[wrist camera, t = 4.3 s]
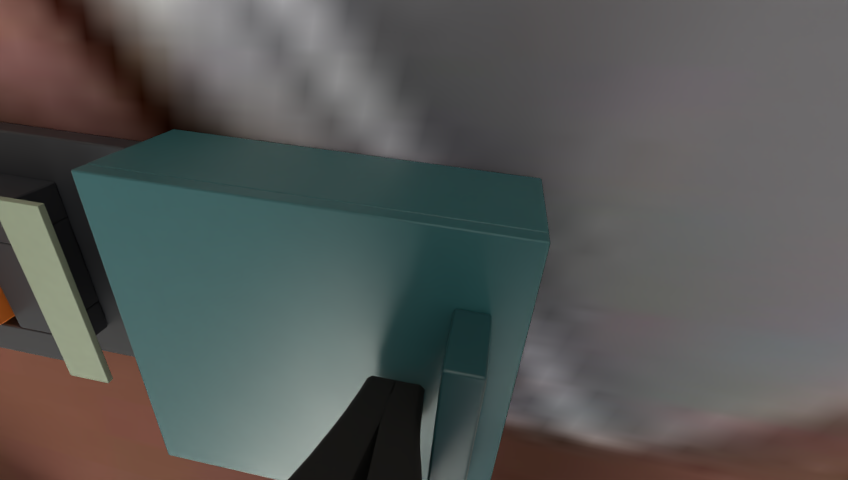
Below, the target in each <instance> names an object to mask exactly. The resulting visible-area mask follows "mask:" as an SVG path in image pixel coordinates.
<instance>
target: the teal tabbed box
mask: <svg viewBox="0 0 848 480" xmlns="http://www.w3.org/2000/svg"><path fill="white" fill-rule="evenodd" d="M71 173H72V176H73V179H74V182H75V185H76V188H77V191H78V193H79V196H80V199H81V202H82V205H83V208H84V211H85V214H86V217H87V219H88V222H89V225H90V228H91V231H92V234H93V237H94V240H95V243H96V245H97V248H98V251H99V254H100V257H101V260H102V263H103V266H104V269H105V271H106V274H107V277H108V280H109V283H110V286H111V289H112V292H113V295H114V298H115V300H116V303H117V306H118V309H119V312H120V315H121V318H122V321H123V324H124V326H125V329H126V332H127V335H128V338H129V341H130V344H131V347H132V350H133V352H134V355H135V358H136V361H137V364H138V367H139V370H140V373H141V376H142V378H143V381H144V384H145V387H146V390H147V393H148V396H149V399H150V402H151V404H152V407H153V410H154V413H155V416H156V419H157V422H158V425H159V428H160V430H161V433H162V436H163V439H164V442H165V445H166V448H167V451H168V454H169V455H172V456H177V457H181V458H185V459H190V460H194V461H198V462H203V463H207V464H211V465H216V466H220V467H224V468H229V469H233V470H237V471H242V472H246V473H250V474H255V475H259V476H263V477H268V478H272V479H276V480H288V479H289V478H290V477H291V475H292V474H293V473H294V472H295V471H296V470H297V469H298V468H299V467H300V465H301V464H302V463H303V462H304V461H305V460H306V459H307V458H308V456H309V455H310V454H311V453H312V452H313V451H314V449H315V448H316V447H317V446H318V444H319V443H320V442H321V441H322V439H323V438H324V437H325V436H326V435H327V433H328V432H329V431H330V430H331V428H332V427H333V426H334V425H335V423H336V422H337V421H338V419H339V418H340V417H341V415H342V414H343V413H344V411H345V410H346V409H347V407H348V406H349V405H350V403H351V402H352V400H353V399H354V398H355V396H356V395H357V393H358V392H359V390H360V389H361V387H362V386H363V384H364V382H365V381H366V379H367V378H368V377H370V376H377V377H382V378H387V379H392V380H398V381H403V382H408V383H413V384H418V385H421V386H422V387H423V388H424V389H425V392H424V401H423V411H422V421H421V430H420V452H421V468H422V480H491V476H492V472H493V468H494V464H495V460H496V456H497V453H498V449H499V445H500V441H501V437H502V433H503V429H504V425H505V421H506V417H507V413H508V409H509V405H510V401H511V397H512V393H513V389H514V385H515V381H516V377H517V373H518V369H519V365H520V361H521V357H522V354H523V350H524V346H525V342H526V338H527V334H528V330H529V326H530V322H531V318H532V314H533V310H534V306H535V302H536V298H537V294H538V290H539V286H540V282H541V278H542V274H543V270H544V266H545V262H546V259H547V255H548V251H549V247H550V238H549V229H548V222H547V215H546V208H545V201H544V194H543V187H542V180H541V179H540V178H534V177H526V176H519V175H511V174H504V173H496V172H489V171H481V170H474V169H467V168H459V167H452V166H444V165H437V164H429V163H422V162H414V161H407V160H399V159H392V158H385V157H377V156H370V155H362V154H355V153H347V152H340V151H332V150H325V149H318V148H310V147H303V146H295V145H288V144H280V143H273V142H265V141H258V140H250V139H243V138H236V137H228V136H221V135H213V134H206V133H198V132H191V131H183V130H176V129H173V130H171V131H168V132H166V133H163V134H161V135H158V136H155V137H153V138H150V139H148V140H145V141H143V142H140V143H138V144H135V145H133V146H130V147H128V148H125V149H122V150H120V151H117V152H115V153H112V154H110V155H107V156H105V157H102V158H100V159H97V160H94V161H92V162H89V163H87V164H86V165H82V166H80V167H77V168H75V169H72V170H71Z"/></svg>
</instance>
